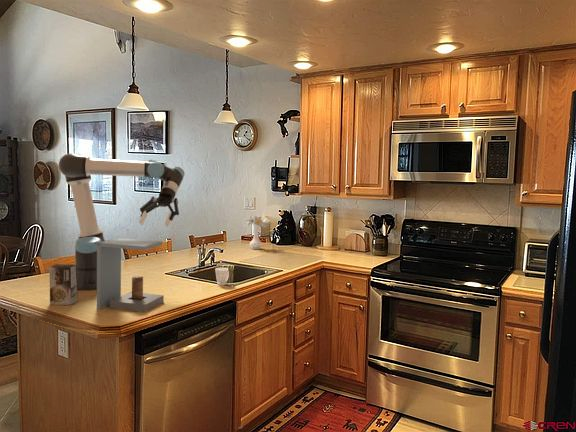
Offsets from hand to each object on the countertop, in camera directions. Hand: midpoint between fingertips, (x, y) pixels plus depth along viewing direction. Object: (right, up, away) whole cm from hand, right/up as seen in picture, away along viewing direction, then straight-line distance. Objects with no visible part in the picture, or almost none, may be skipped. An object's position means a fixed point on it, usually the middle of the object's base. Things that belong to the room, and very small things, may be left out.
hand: (153, 223), depth 228 cm
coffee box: (-31, -33, -27) cm, 53 cm away
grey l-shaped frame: (-2, -34, -29) cm, 45 cm away
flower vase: (+40, -21, +135) cm, 143 cm away
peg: (0, -34, -26) cm, 43 cm away
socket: (0, -34, -26) cm, 43 cm away
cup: (+31, -32, +19) cm, 48 cm away
